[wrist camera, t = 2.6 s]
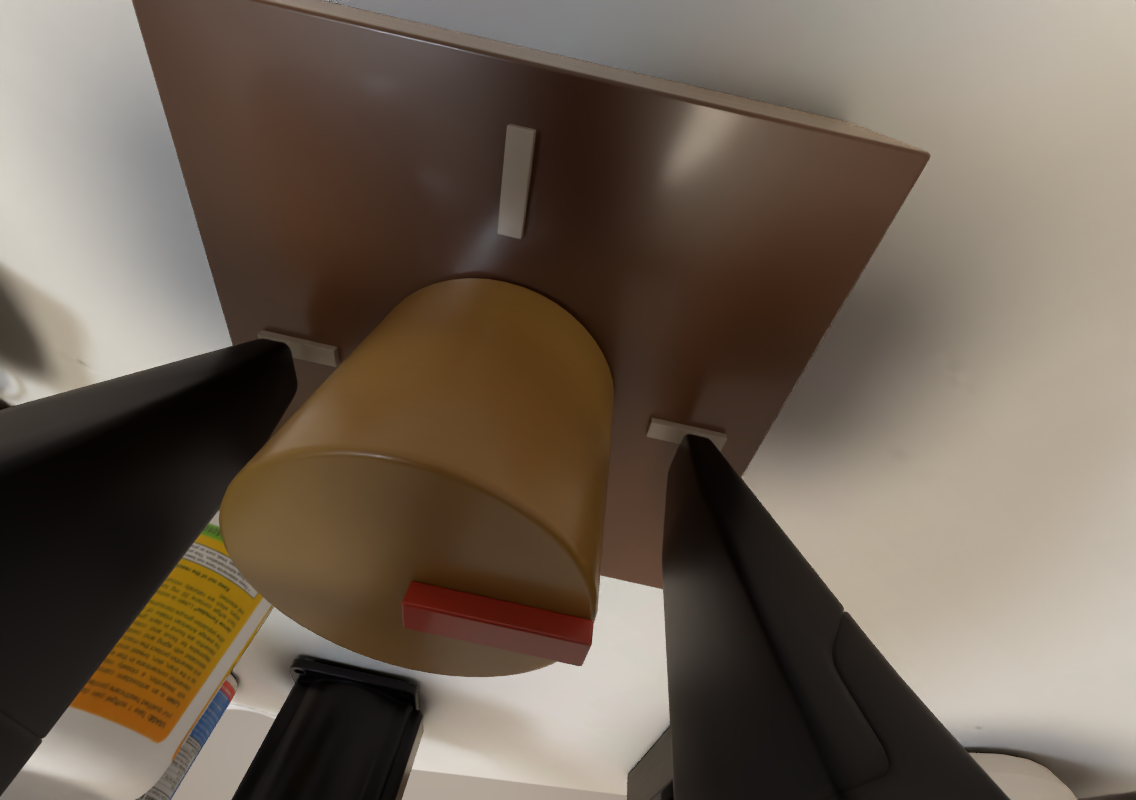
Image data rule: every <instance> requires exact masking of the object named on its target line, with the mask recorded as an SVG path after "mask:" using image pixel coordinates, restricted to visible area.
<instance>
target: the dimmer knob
mask: <svg viewBox="0 0 1136 800" xmlns="http://www.w3.org/2000/svg"><path fill="white" fill-rule="evenodd" d="M613 412H614V387H613V380H612V376H611V373H610V369H609V366H608V364H607V362H606V359H605V357H604V355H603V353H602V351H601V350H600V348H599V346H598V345H597V343H596V341H595V340H594V339H593V337H592V336H591V335H590V334H589V333H588V331H587V330H586V329H585V328H584V326H583V325H582V324H580V323H579V322H578V321H577V320H576V319H575V318H574V317H573V316H572V315H571V314H570V313H568V312H567V311H566V310H564V309H563V308H562V307H560V306H559V305H558V304H556V303H555V302H553V301H551V300H549V299H548V298H546V297H544V296H542V295H541V294H538V293H536V292H534V291H531V290H529V289H527V288H524V287H521V286H518V285H515V284H511V283H508V282H503V281H497V280H491V279H477V278H465V279H454V280H448V281H443V282H439V283H435V284H432V285H430V286H427V287H425V288H422V289H420V290H418V291H416V292H414V293H413V294H411V295H409V296H408V297H406V298H405V299H404V300H403V301H401V302H400V303H399V304H398V305H397V306H396V307H394V309H393V310H392V311H391V312H390V313H389V314H388V315H387V316H386V317H385V318H384V319H383V320H382V321H381V322H380V323H379V324H378V325H377V327H376V328H375V329H374V330H373V331H372V332H371V333H370V334H369V335H368V336H367V337H366V338H365V339H364V340H363V341H362V342H361V343H360V344H359V346H358V347H357V348H356V349H355V350H354V351H353V352H352V353H351V354H350V355H349V356H348V357H347V358H346V359H345V360H344V361H343V362H342V364H341V365H340V366H339V367H338V368H337V369H336V370H335V371H334V372H333V373H332V374H331V375H330V376H329V377H328V378H327V379H326V380H325V382H324V383H323V384H322V385H321V386H320V387H319V388H318V389H317V390H316V391H315V392H314V393H313V394H312V395H311V396H310V397H309V398H308V399H307V401H306V402H305V403H304V404H303V405H302V406H301V407H300V408H299V409H298V410H297V411H296V412H295V413H294V414H293V415H292V416H291V417H290V419H289V420H288V421H287V422H286V423H285V424H284V425H283V426H282V427H281V428H280V429H279V430H278V431H277V432H276V433H275V434H274V435H273V437H272V438H271V439H270V440H269V441H268V442H267V443H266V444H265V445H264V446H263V447H262V448H261V449H260V450H259V451H258V452H257V453H256V454H255V456H254V457H253V458H252V459H251V460H250V461H249V462H248V463H247V464H246V465H245V466H244V467H243V468H242V469H241V470H240V471H239V472H238V474H237V475H236V476H235V477H234V479H233V480H232V481H231V483H230V484H229V485H228V487H227V489H226V492H225V494H224V497H223V499H222V502H221V506H220V514H219V526H220V534H221V537H222V540H223V543H224V546H225V549H226V551H227V553H228V554H229V556H230V558H231V560H232V562H233V564H234V565H235V566H236V568H237V569H238V570H239V572H240V573H241V575H242V576H243V577H244V578H245V579H246V580H247V582H248V583H249V584H250V585H251V586H252V587H253V588H254V589H255V590H256V591H257V592H258V593H259V594H260V595H261V596H262V597H263V598H265V599H266V600H267V601H268V602H269V603H270V604H272V605H273V606H274V607H275V608H277V609H278V610H279V611H281V612H282V613H283V614H285V615H286V616H288V617H289V618H291V619H292V620H294V621H295V622H297V623H298V624H300V625H301V626H303V627H305V628H307V629H308V630H310V631H312V632H314V633H315V634H317V635H319V636H321V637H323V638H325V639H327V640H329V641H331V642H333V643H335V644H337V645H339V646H342V647H344V648H346V649H349V650H351V651H353V652H356V653H358V654H361V655H364V656H367V657H369V658H372V659H375V660H378V661H382V662H385V663H388V664H392V665H395V666H399V667H404V668H408V669H412V670H417V671H422V672H428V673H434V674H442V675H450V676H464V677H495V676H507V675H514V674H520V673H525V672H529V671H533V670H537V669H540V668H543V667H546V666H548V665H551V664H553V663H555V662H557V661H558V662H563V663H567V664H572V665H576V666H582V664H583V662H584V660H585V658H586V655H587V653H588V651H589V649H590V647H591V644H592V635H593V624H594V621H595V617H596V614H597V610H598V598H599V585H600V573H601V560H602V548H603V536H604V523H605V511H606V498H607V486H608V474H609V461H610V449H611V437H612V424H613Z"/></svg>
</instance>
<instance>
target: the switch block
mask: <svg viewBox="0 0 1136 800" xmlns="http://www.w3.org/2000/svg"><path fill="white" fill-rule="evenodd" d="M627 800H674V789H673V770H672V750H671V731H670V727H669V728H668V730H667V731H666V732H665V733H664V734H663V735H662V736H661V738H660V739H659V740H658V741H657V742H656V743H655V745H654V746H653V747H652V748H651V749H650V750H649V752H648V753H647V754H646V755H645V756H644V757H643V759H642V760H641V761H640V762H639V763H638V764H637V766H636V767H635V768H634V769H633V770H632V771H631V773H630V774H629V775H628V782H627Z"/></svg>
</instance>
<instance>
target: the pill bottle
mask: <svg viewBox="0 0 1136 800" xmlns="http://www.w3.org/2000/svg"><path fill="white" fill-rule="evenodd" d="M236 690H237V682H236V680H235V679H234V677H233V676H232V675H231V674H229V676H228V677H227V679H226V680H225V682H224V683H223V685H222V686H221V688H220V689H219V691H218V692H217V694H216V695H215V697H214V698H213V700H212V701H211V703H210V704H209V706H208V708H207V709H206V711H205V712H204V714H203V715H202V717H201V718H200V720H199V721H198V723H197V724H196V726H195V727H194V729H193V730H192V732H191V734H190V735H189V737H188V738H187V740H186V741H185V743H184V744H183V746H182V747H181V749H180V750H179V752H178V754H177V755H176V757H175V758H174V759H173V761H172V762H171V764H170V765H169V766H168V768H167V769H166V771H165V772H164V773H163V775H162V776H161V778H160V779H159V780H158V781H157V783H156V784H155V785H154V786H153V787H152V788H151V789H150V790H149V791H147V792H146V793H145V794H143V795H142V796H141V797H139V798H137V799H135V800H171V798H172V797H173V795H174V793H175V792H176V790H177V788H178V787H179V785H180V783H181V781H182V780H183V779H184V777H185V775H186V773H187V772H188V770H189V769H190V767H191V765H192V763H193V762H194V760H195V759H196V757H197V755H198V754H199V752H200V750H201V749H202V747H203V745H204V744H205V742H206V741H207V739H208V737H209V736H210V734H211V732H212V731H213V729H214V727H215V726H216V724H217V723H218V721H219V720H220V718H221V716H222V715H223V713H224V711H225V710H226V708H227V707H228V705H229V703H230V702H231V700H232V698H233V696H234V695H235V693H236Z"/></svg>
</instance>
